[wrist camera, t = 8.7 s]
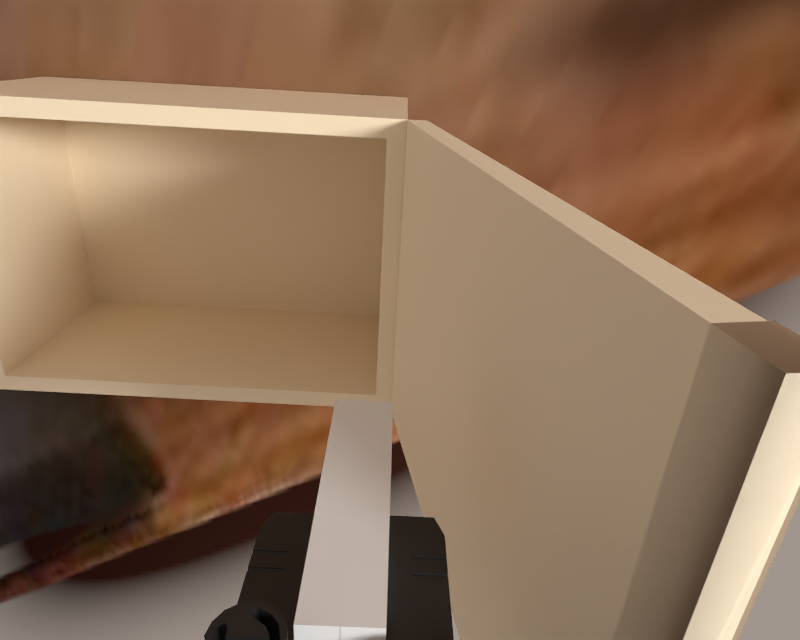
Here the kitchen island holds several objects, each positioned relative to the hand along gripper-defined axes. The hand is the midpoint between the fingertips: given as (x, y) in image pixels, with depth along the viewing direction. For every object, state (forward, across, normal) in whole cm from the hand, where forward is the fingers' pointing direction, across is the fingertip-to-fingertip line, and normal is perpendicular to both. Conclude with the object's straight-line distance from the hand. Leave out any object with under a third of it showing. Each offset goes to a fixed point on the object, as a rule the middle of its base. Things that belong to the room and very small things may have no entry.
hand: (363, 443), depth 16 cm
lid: (+2, +3, 0) cm, 4 cm away
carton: (+22, -9, 0) cm, 24 cm away
